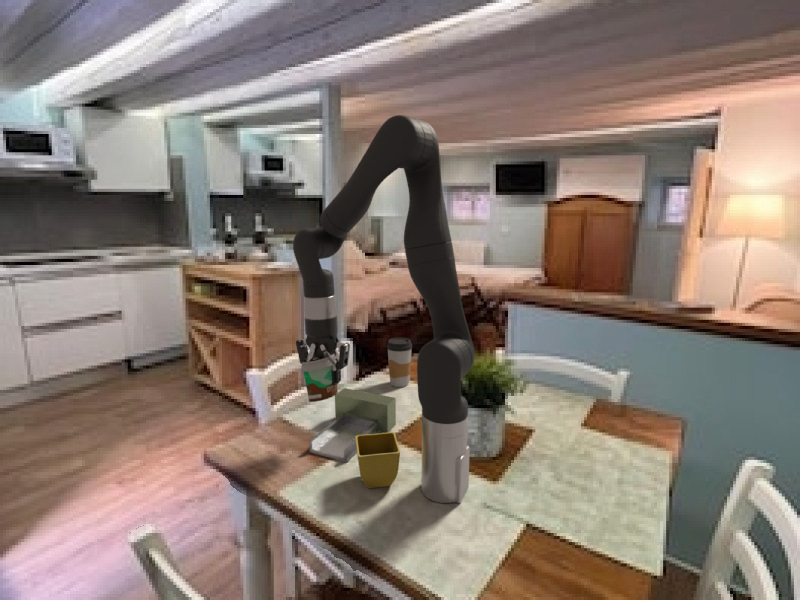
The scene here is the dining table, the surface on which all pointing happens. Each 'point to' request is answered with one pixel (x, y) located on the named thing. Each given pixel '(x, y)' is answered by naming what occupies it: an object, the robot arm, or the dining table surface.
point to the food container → (319, 378)
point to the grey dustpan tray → (354, 423)
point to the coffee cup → (399, 361)
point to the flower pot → (378, 458)
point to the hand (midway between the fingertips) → (324, 382)
